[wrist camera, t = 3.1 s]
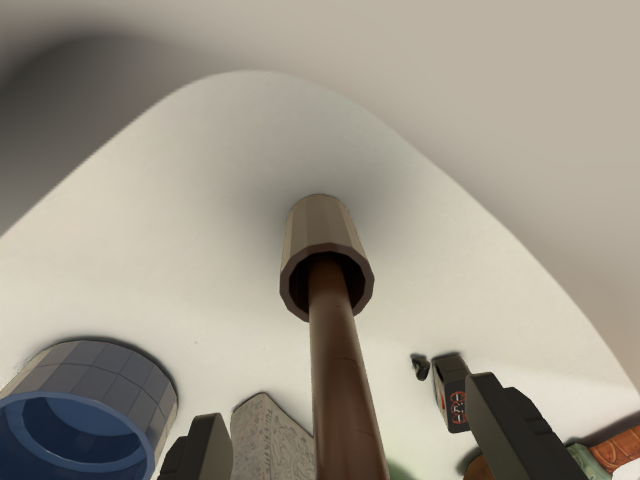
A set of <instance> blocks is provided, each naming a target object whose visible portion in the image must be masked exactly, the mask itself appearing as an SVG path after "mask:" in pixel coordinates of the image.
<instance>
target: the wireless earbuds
mask: <svg viewBox="0 0 640 480" xmlns="http://www.w3.org/2000/svg"><path fill="white" fill-rule="evenodd" d="M412 363H413V366H416V365H417V367H416V377H417V378H418V380H420V381H424V380H425V379H426V378H427V376H428V372H429V368H430V363H429V361H427V360H426V359H423V358H421V359H420V358H412ZM433 368H434V377H435V386H436V394H437V403H438V407H439V410H440V412H441V414H442V417H443V419H444V421H445V424H446V426H447V428H448V431H449V432H450V433H460V432H465V431H470V430H471V429H470V427H469V424H468V421H467V417H466V412H465V379H466V376H467V375H472V373H471V372H470V370H469V368H468V367H467V365H466V363H465V362H464V360H463V359H462V357H460V356H458V355H453V356H448V357H443V358H439V359H436V360H435V361H434V363H433Z"/></svg>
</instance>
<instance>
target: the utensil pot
mask: <svg viewBox="0 0 640 480" xmlns="http://www.w3.org/2000/svg"><path fill="white" fill-rule="evenodd" d="M326 251H333V252H337V253H339V256H340V260H341V265H342V269H343V274H344V278H345V282H346V287H347V291H348V296H349V300H350V304H351V309H352V313H353V317H354V316H356V315H357V314H359V313H360V312H361V311H362V310H363V309H364V307H365V306H366V304H367V303H368V302H369V300H370V299H371V297H372V293H373V287H374V280H375V279H374V275H373V272H372V270H371V267H370V264H369V262H368V259H367V257H366V254H365V252H364V249H363V246H362V244H361V241H360V239H359V236H358V234H357V231H356V228H355V226H354V223H353V221H352V218H351V215H350V213H349V210H348V209H347V208H346V206H345V205H344V204H343V203H342V202H341V201H339V200H338V199H336V198H334V197H332V196H329V195H324V194H316V195H310V196H307V197H305V198H303V199H301V200H300V201H298V202H297V203H296V204H295V205H294V206H293V207H292V209H291V210H290V212H289V214H288V217H287V220H286V227H285V236H284V244H283V253H282V262H281V271H280V290H279V293H280V296H281V297H282V299H283V301H284V303H285V305H286V307H287V309H288V310H289V311H290V312H292V313H293V314H294V315H296V316H297V317H298V318H300V319H301V320H303V321H304V322H309V297H308V268H307V257H308V256H310V255H311V254H314V253H320V252H326Z"/></svg>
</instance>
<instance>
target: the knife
mask: <svg viewBox="0 0 640 480" xmlns="http://www.w3.org/2000/svg"><path fill="white" fill-rule="evenodd" d="M567 450H568V451H569V453H570V454H571V455H572V457H573V458H574V459H575V461H576V462H577V463H578V465H579V466H580V467H581V469H582V470H583V472H584V473H585V474H586V476H587V477H588V478H589V480H612V476H613V474H612V473H613V472H614V470H616V469H617V468H619V467H620V466H621V465H624V464H626V463H628V462H630V461H633V460H635V459H637V458H639V457H640V425H637V426H635V427H633V428H630V429H628V430H626V431H624V432H622V433H620V434H618V435H616V436H614V437H612V438H610V439H608V440H606V441H604V442H603V443H601V444H599V445H597V446H594V447H590V448H587V447H586V446H583V445H580V444H577V443H575V444H574V445H572V446H569V447H567Z"/></svg>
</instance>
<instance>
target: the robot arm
mask: <svg viewBox="0 0 640 480" xmlns="http://www.w3.org/2000/svg"><path fill="white" fill-rule="evenodd" d="M465 412H466V417H467V421H468V424H469V427H470V429H471V431H472V433H473V435H474V437H475V439H476V441H477V443H478V445H479V447H480V449H481V451H482V453H483V456H484V458H485V460H486V462H487V464H488V466H489V468H490V470H491V472H492V474H493V476H494V478H495V480H589V478H588V477H587V476H586V474H585V473H584V472H583V470H582V469H581V467H580V466H579V465H578V463H577V462H576V461H575V459H574V458H573V457H572V455H571V454H570V453H569V451H568V450H567V448H566V447H565V446H564V444H563V443H562V442H561V440H560V439H559V438H558V436H557V435H556V434H555V432H553V431H552V428H551V427H550V425H549V424H548V423H547V421H546V420H545V419H543V417H542V415H541V413H540V412H539V411H538V409H537V408H536V406H535V405H534V404H533V402H532V401H531V400H530V399H529V398H528V397H526V396H525V395H524V394H522V393H521V392H520V391H518V390H517V389H516V388H514V387H509V388H503V387H502V385H501V384H500V382H499V381H498V379H497V378H496V377H495V375H494V374H493V373H492V372H485V373H478V374H472V375H467V376H466V379H465ZM232 467H233V446H232V442H231V439H230V437H229V434H228V431H227V429H226V426H225V423H224V421H223V418H222V415H221V414H220V413H213V414H206V415H200V416H196V417H195V418H194V419H193V421H192V424H191V427H190V430H189V433H188V436H183V437H179V438H178V439H177V440H176V442H175V443H174V444H173V446H172V447H171V448H170V450H169V451H168V452H167V454H166V457H165V459H164V462H163V465H162V467H161V470H160V475H159V476H158V478H157V480H230V478H231V473H232Z"/></svg>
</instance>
